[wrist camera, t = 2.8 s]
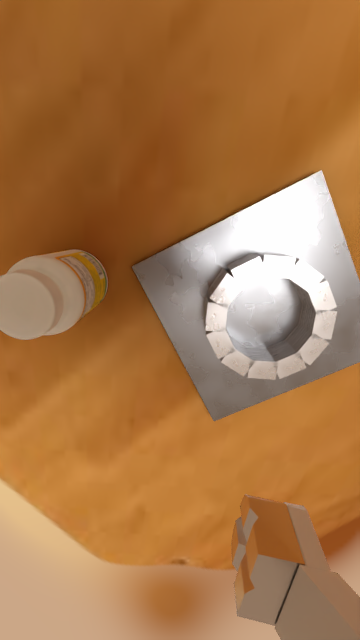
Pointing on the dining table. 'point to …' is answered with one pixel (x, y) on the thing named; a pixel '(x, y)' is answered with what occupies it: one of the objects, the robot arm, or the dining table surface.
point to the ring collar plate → (260, 298)
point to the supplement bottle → (50, 293)
